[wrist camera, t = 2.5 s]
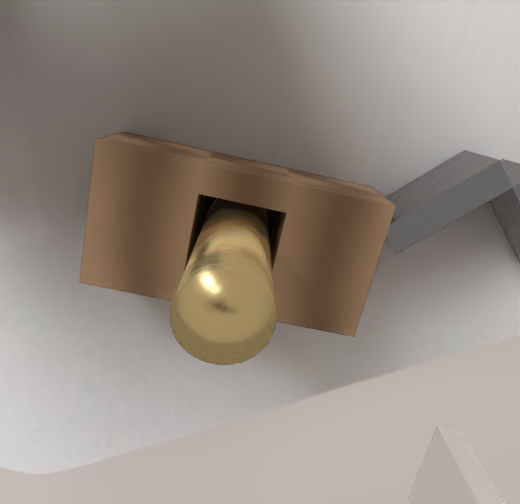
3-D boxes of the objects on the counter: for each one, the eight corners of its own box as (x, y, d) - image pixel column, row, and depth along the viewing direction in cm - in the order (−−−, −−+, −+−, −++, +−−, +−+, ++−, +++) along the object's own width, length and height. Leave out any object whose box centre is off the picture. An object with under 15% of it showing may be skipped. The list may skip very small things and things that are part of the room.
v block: (359, 228, 35) (375, 249, 30) (387, 132, 33) (409, 139, 28) (537, 266, 36) (579, 293, 32) (576, 176, 34) (628, 189, 29)
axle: (202, 242, 35) (162, 354, 20) (213, 184, 34) (179, 259, 19) (260, 254, 36) (262, 373, 21) (273, 197, 34) (286, 281, 19)
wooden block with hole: (107, 252, 36) (79, 282, 30) (123, 131, 33) (95, 140, 27) (339, 299, 37) (354, 336, 31) (372, 187, 34) (395, 206, 29)
